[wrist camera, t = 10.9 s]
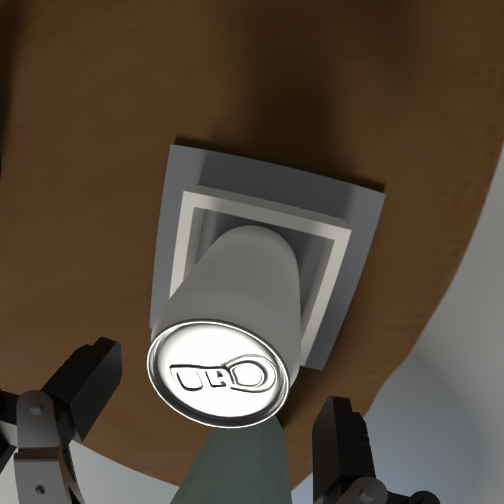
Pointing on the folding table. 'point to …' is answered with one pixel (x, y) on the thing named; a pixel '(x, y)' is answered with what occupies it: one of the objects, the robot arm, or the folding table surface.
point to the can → (231, 332)
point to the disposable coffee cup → (239, 468)
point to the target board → (276, 219)
